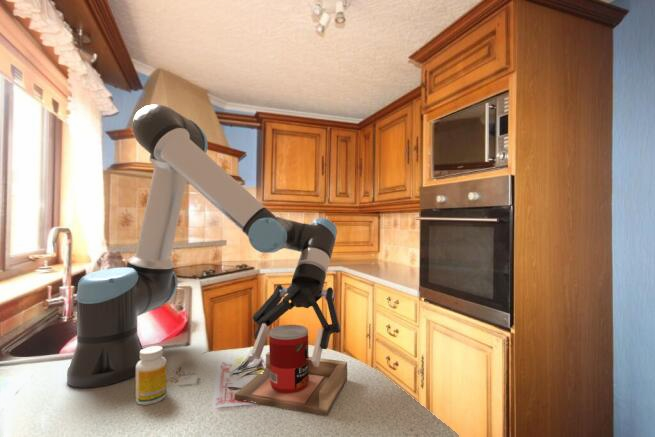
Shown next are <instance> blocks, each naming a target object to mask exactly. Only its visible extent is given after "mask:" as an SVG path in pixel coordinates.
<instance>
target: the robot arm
mask: <svg viewBox="0 0 655 437" xmlns="http://www.w3.org/2000/svg"><path fill="white" fill-rule="evenodd" d="M131 125H132V126H131V128H132V133H133V136H134V139H135V140H136V141H137V143H138V144H139V145H140V146H141V147H142V148H144V150H145V151H147V152H148V153H149V154H150V156H149V162H150V163H151V164H152V165H153V171H152V172H153V173H152V177H151V182H150V185H149V191H148V195H147V200H146V204H145V210H144V214H143V218H142V222H141V228H140V232H139V237H138V242H137V247H136V250H135V251H136V252H135V254H133V256H131V257H129V258H128V259H127V261H126V267H113V268H108V269H101V270H96V271H93V272H90V273H87V274H86V275H84V276H82V277H81V278H80V279H79V281H78V283H77V292H76V296H75V298H76V333H77V335H76V337H77V338H76V340H77V341H76V342H77V343H76V346H75V350H74V352H73V355H72V358H71V361H70V364H69V367H68V369H67V372H66V383H67V384H68V385H69V386H71V387H72V388H73V387H74V388H82V389H83V388H84V389H85V388H98V387H102V386H107V385H112V384H115V383H119V382H122V381H125V380H128V379H130V378H132V377H134V376H136V364H137V363H138V362H139V361H140V360H141V359H140V351H141V350H142V349H144V348H143V345H142V343H141V340H140V337H139V335H138V317H139V316H141V315H143V314H146V313H148V312H150V311H155V310H158V309H159V308H162V307H163V306H164V305H166V304H168V302H170V301H171V300H172V299H173V298H174V297H175V294H176V293H177V289H178V277H177V276H176V273H175V263H174V262H173V261H172V259H171V256H172V253H173V247H174V243H175V238H176V233H177V228H178V223H179V221H180V220H179V219H180V214H181V210H182V206H183V200H184V196H185V191H186V188H187V182H188V183H189V184H190V185H191V186H192V187H193V188H194V189H195V190H197V192H199V194H201V195H202V196H203V197H204V198H206V200H207V201H209V203H211V204H212V205H213V206H214V207H215V208H216V209H217V210H218V211H220V212H221V213H222V214H223V215H224V216H225V217H227V219H228V220H230V221H231V223H233V224H234V225H235V226H236V227H237V229H239V230H241V231H242V233H244V234H245V235H246V237H248V241H249V243H250V245H251V247H252V248H253V249H254V250H256V251H257V252H259V253H264V254H269V253H271V254H272V253H276V252H279V251H280V250H283V249H286V250H292V251H295V252H300V255H299V259H298V260H297V263H296V268H295V271H294V272H293V275H292V279H291V283H290V285H289V286H288V287H284V286H282V285H281V284H277V285H276V288H275V289H274V291H273V293H272V294H271V295H270V297H268V299H267V300H266V301H265V302H264V303H263V304H262V306H261V307H260V308H259V309H258V310H257V311H256V313H255V314H253V316H252V320H253V321H254V323H255V324H256V325H257V328H256V329H255V333H254V336H253V339H254V340H255V342H254V345H253V348H252V350H251V353H250V354H252V356H253V357H254V358H255V359H256V360H260V358H261V355H262V353H263V350H264V348H265V344H266V341H267V339H268V337H269V333H270V330H271V329H270V328H269V327H270V326H271V325H272V324H273V323H274V322H275V321H277V320H278V319H280V317H282V316H283V315H284V314H285V313H286V312H288V311H289V310H292V309H293V308H294V307H295V308H305V309H309V308H310V307H311V308H312V309H313V311H314V313H315V315H316V316H317V317H316V318H317V319H318V320H319V322H320V325H321V326H322V328H319V329H318V332H317V335H316V340H315V344H314V349H313V351H312V355H311V357H312V359H311V361H312V363H313V365H314V366H315V367H319V363H320V358H321V357H322V353H323V350H327V349H328V346H329V342H330V338H331V335H332V334H335V333H336V334H339V333H340V332H341V325H340V322H339V318H338V313H337V310H336V306H335V292H334V290H333V288H332V287H328V288H326V289H324V285H325V282H326V278H327V273H328V270H329V267H330V261H331V259H332V256H333V251H334V248H335V244H336V240H337V234H338V228H337V226H336V224H335V223H334V222H333V221H332V220H330V219H328V218H325V217H320V218H315V219H314V220H312V222H311V223H310V224H309V223H303V222H298V221H294V220H291V219H286V218H283V217H282V218H281V217H279V216H276V215H274V213H272V212H271V211H270V209H268V208H267V207H266V206H264V204H262V202H260V201H259V200H258V199H257V198H256V197H255V196H254V195H252V194H251V192H249V191H248V190H247V189H246V188H245V187H244V186H242V185H241V183H239V182H238V181H237V180H236V179H234V177H232V176H231V174H229V173H228V172H227V171H226V170H225V169H223V167H222V166H220V164H219V163H217V162H216V161H215V160H213V159H212V157H210V156H209V155H208V154H207V151H208V146H209V145H208V144H209V143H208V139H207V138H208V137H207V136H206V133H205V132H204V130H203V129H202V128H201V127H200V126H199V125H198V123H195V122H194V120H193V121H192V120H191V119H188V118H187V117H185V116H183V115H182V114H180V113H178V112H177V111H175V109H172V108H170V107H169V106H166V105H162V104H150V105H145V106H144V107H142V108H140V109H139V110H138V111H137V112H136V113H135V115H134V117H133V119H132V123H131ZM322 297H324V300H326V302H327V303H326V304H327V308H328V312H329V317H330V321H331V323H330V324H329V323H328V321H327V319H326V317H325V315H324V314H323V312H322V310H321V307H320V305H319V304H318V303H317V302H318V301H319V300H320V299H322Z"/></svg>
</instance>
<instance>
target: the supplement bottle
mask: <svg viewBox="0 0 655 437" xmlns="http://www.w3.org/2000/svg"><path fill="white" fill-rule="evenodd" d="M163 354H164V349H163V346H161V345H151V346H148V347H144V348H143V349H142V350H141V351H140V359H141V360H140V361H139V362H138V363H137V364H136V375H135V389H134V390H135V392H134V393H135V403H137V405H142V406H144V405H148V406H149V405H153V404H156V403H158V402H160V401H162V400H164V398H165V397H166V395H167V359H166V357H164V356H163Z"/></svg>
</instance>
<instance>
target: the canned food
mask: <svg viewBox="0 0 655 437" xmlns="http://www.w3.org/2000/svg"><path fill="white" fill-rule="evenodd" d="M308 330H309V329H308V328H307V327H306V326H304V325H299V324H282V325H278V326H275V327H272V328H271V329H270V331H269V334H268V337H269V338H268V343H269V344H268V345H269V346H268V347H269V350H268V352H270V383H271V386H272V388H273V389H274V390H276V391H278V392H282V393H293V392H298V391H301V390H303V389H304V388H305V387H306V386H307V385H308V381H309V357H310V356H309V331H308Z"/></svg>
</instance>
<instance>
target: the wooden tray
mask: <svg viewBox="0 0 655 437" xmlns="http://www.w3.org/2000/svg"><path fill="white" fill-rule="evenodd" d="M311 359H312V356H309V381H308V385H307V386H306V387H305V388H304V389H303V390H301V391H298V392H293V393H282V392H278V391H276V390H274V389H273V388H272V386H271V383H270V351H268V352H267V353H266V354H265V368H263V369H264V372H263V374H259V373H257V374H256V375H255V376H254V377H253V378H252V379H250V380H249V381H248V382H247V383H246V384H245V385H243V387H241V388H240V389H239V390H238V391H236V392H235V393H234V400H235V399H239V400H238V401H241V400H246V401H253V402H256V403H255V404H257V403H258V405H264V406H269V407H273V408H281V409H286V410H292V411H295V412H301V413H308V414H314V415H318V416H324V417H328V415H329V413H330V412H331V410H332V409H333V407H334V405H335V403H336V401H337V399H338V398H339V396H340V394H341V393H342V391H343V389H344V387H345V385H346V383H347V382H348V361H346V360H345V361H344V360H339V359H338V360H337V359H328V358H320V363H319V367H315V366H314V365H313V363H312V361H311ZM246 401H245V402H246Z"/></svg>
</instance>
